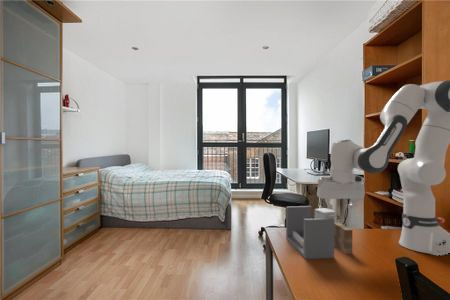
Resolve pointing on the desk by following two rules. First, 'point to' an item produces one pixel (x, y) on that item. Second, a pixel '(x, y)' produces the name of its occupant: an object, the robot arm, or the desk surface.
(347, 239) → the door panel
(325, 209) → the supplement box
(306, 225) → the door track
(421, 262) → the desk surface
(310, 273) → the desk surface
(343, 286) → the desk surface
